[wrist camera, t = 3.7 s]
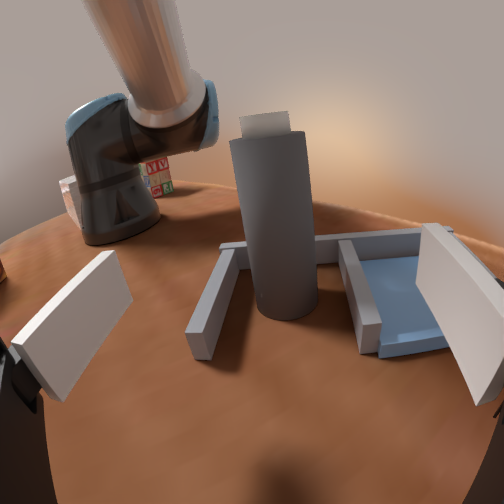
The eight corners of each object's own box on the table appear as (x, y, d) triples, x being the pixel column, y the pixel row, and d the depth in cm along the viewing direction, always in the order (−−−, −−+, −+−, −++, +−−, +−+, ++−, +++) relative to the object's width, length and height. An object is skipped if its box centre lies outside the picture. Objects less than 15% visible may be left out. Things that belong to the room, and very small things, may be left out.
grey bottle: (260, 286, 27) (233, 118, 21) (316, 282, 26) (300, 110, 20) (253, 321, 22) (217, 120, 16) (319, 318, 21) (303, 109, 15)
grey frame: (225, 265, 31) (221, 243, 30) (446, 247, 27) (448, 225, 26) (185, 365, 19) (174, 338, 18) (513, 330, 15) (523, 303, 14)
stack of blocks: (123, 195, 83) (113, 156, 78) (140, 188, 87) (132, 150, 81) (153, 199, 68) (142, 150, 63) (174, 191, 72) (164, 144, 67)
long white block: (68, 214, 77) (58, 180, 73) (98, 202, 83) (90, 169, 78) (82, 233, 54) (67, 183, 49) (126, 215, 60) (114, 167, 55)
